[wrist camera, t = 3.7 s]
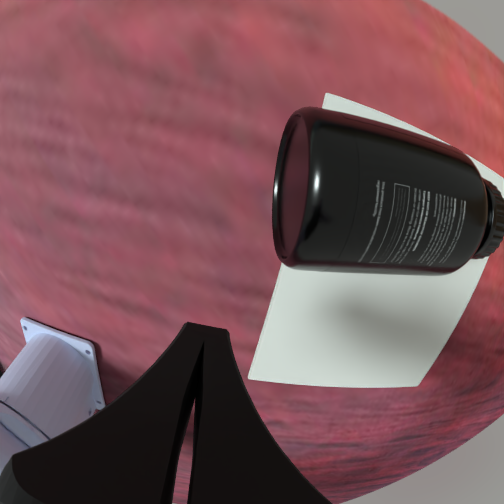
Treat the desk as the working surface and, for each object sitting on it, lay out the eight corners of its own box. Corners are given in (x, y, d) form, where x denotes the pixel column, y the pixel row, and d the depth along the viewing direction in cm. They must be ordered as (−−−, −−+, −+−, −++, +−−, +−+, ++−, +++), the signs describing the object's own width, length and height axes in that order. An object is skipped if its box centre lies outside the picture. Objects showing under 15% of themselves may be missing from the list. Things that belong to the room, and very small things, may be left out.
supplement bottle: (266, 268, 15) (443, 278, 16) (304, 270, 8) (523, 281, 9) (274, 141, 15) (442, 178, 16) (308, 68, 8) (513, 149, 10)
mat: (415, 383, 23) (417, 386, 22) (247, 375, 21) (248, 378, 21) (508, 182, 15) (511, 184, 15) (325, 93, 14) (327, 92, 13)
